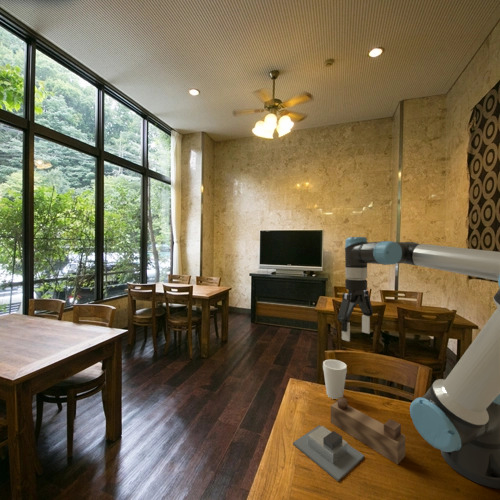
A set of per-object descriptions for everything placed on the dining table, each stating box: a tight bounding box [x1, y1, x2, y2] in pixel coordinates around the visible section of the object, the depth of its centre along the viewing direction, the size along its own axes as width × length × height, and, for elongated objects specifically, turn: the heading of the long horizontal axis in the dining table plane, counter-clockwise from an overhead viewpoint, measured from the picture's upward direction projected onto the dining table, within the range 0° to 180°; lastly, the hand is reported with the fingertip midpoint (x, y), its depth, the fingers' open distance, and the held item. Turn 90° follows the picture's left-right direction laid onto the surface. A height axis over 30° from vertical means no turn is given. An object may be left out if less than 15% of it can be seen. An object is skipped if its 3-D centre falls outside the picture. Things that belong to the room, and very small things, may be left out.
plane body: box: [330, 396, 406, 465], centre depth 81 cm, size 22×5×9 cm, turn 37°
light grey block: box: [308, 425, 348, 464], centre depth 76 cm, size 9×7×5 cm
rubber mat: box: [292, 424, 365, 482], centre depth 76 cm, size 16×13×1 cm
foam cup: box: [322, 359, 348, 400], centre depth 105 cm, size 10×9×13 cm
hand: (356, 336), depth 93 cm, fingers open, 13 cm apart
